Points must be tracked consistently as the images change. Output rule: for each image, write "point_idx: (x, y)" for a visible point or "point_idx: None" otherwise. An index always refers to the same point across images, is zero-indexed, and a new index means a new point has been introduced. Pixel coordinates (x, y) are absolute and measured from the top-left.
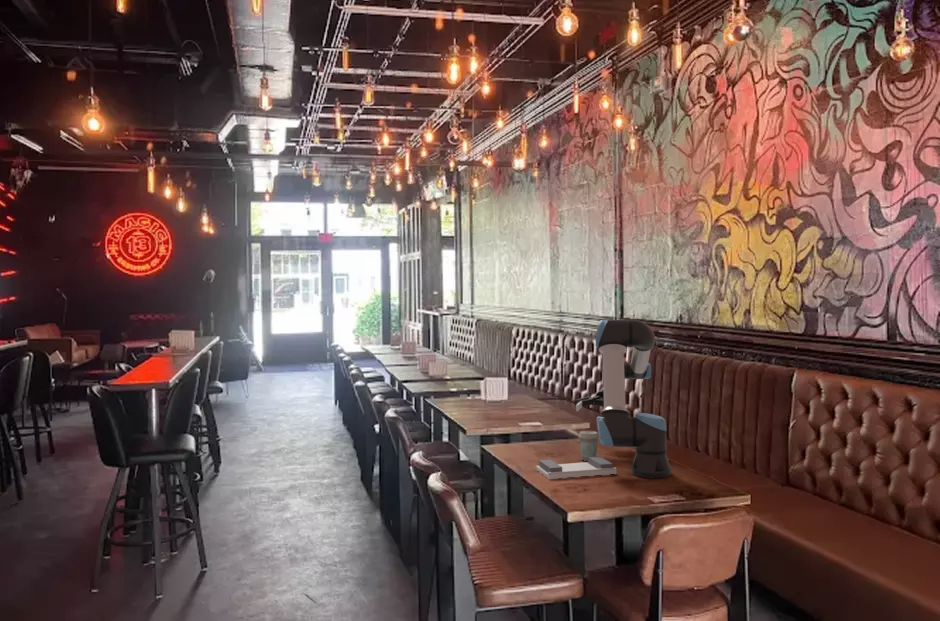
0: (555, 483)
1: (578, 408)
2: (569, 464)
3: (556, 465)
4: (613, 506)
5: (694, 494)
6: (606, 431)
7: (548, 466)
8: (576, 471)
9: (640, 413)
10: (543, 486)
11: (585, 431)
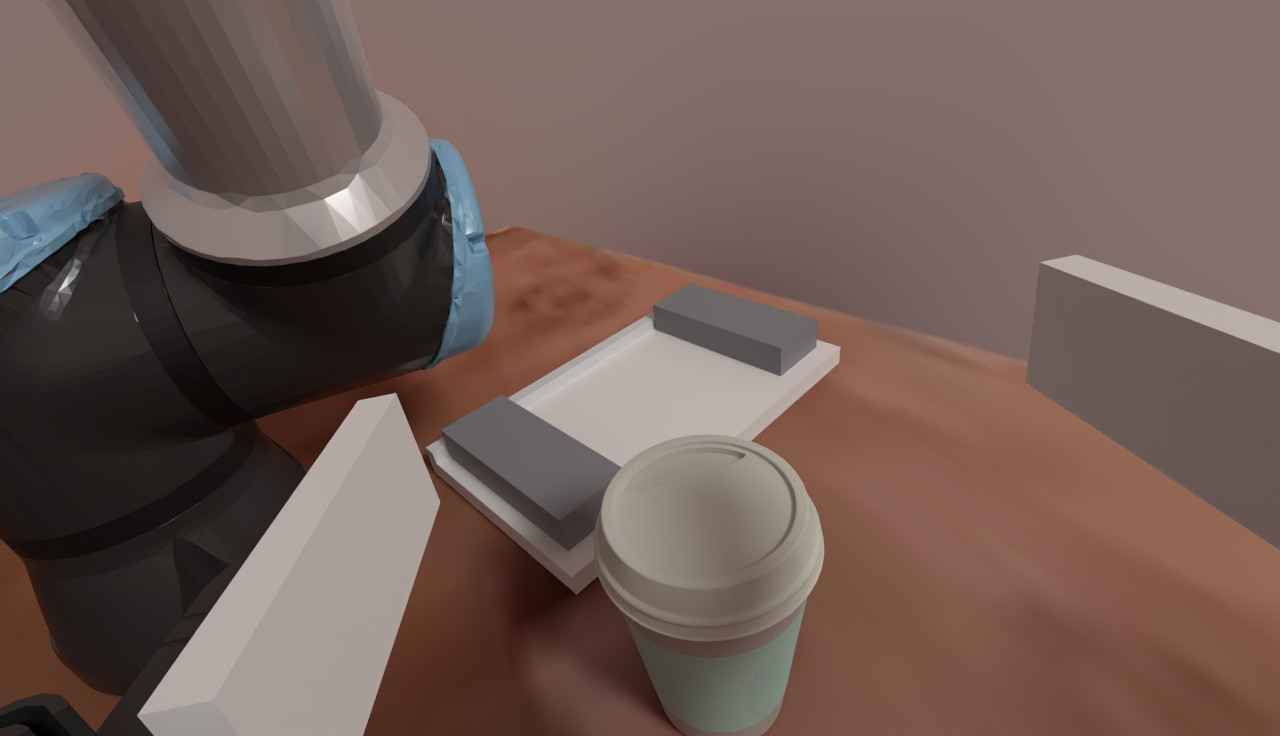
0: (642, 300)
1: (1071, 364)
2: (713, 430)
3: (689, 308)
4: None
5: None
6: (404, 212)
7: (710, 290)
8: (601, 345)
9: (27, 203)
10: (660, 274)
11: (774, 539)
